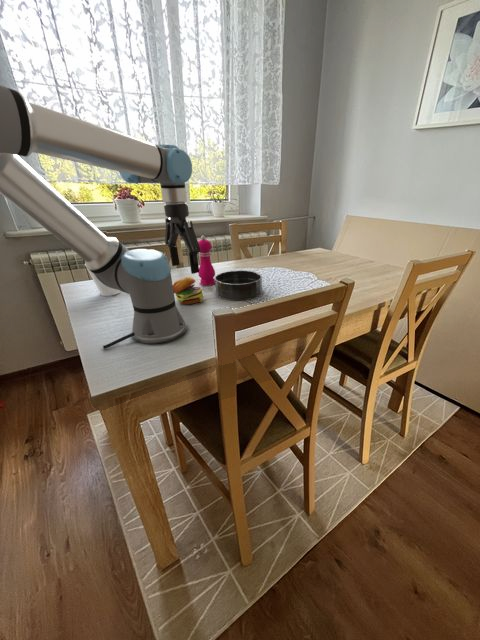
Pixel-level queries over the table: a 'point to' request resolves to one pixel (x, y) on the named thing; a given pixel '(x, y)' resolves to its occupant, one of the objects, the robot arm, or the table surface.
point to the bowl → (238, 285)
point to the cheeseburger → (187, 291)
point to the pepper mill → (205, 263)
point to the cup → (103, 286)
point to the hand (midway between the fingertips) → (185, 269)
